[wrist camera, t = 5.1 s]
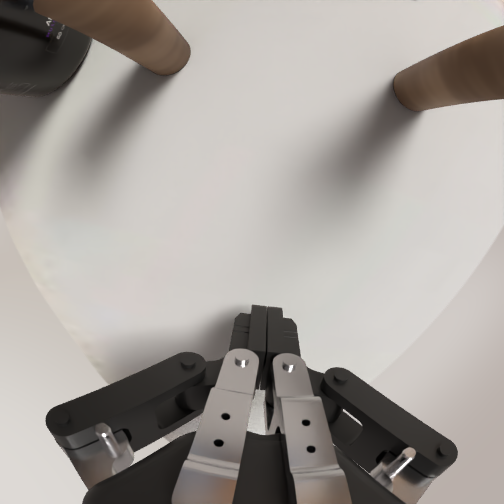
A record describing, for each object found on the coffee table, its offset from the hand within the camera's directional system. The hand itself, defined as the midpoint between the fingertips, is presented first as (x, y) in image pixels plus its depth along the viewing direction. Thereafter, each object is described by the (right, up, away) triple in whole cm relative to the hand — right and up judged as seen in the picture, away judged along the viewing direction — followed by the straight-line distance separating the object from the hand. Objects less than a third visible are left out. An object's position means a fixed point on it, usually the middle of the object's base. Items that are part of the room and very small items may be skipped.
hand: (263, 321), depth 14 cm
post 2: (+8, +12, -3) cm, 15 cm away
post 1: (-5, +14, -3) cm, 15 cm away
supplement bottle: (-13, +17, -3) cm, 21 cm away
